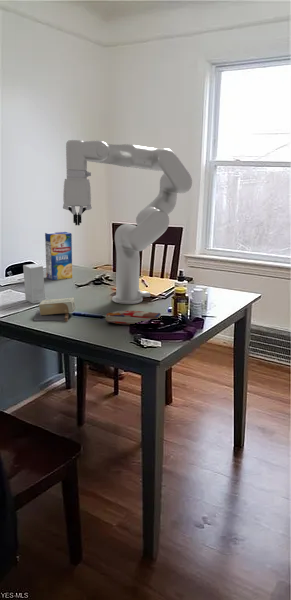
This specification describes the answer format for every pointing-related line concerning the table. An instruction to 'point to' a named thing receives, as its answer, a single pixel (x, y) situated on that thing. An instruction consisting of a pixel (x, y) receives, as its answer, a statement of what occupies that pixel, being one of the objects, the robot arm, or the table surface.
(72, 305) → the skincare box
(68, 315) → the stop strip
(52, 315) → the mat
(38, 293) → the skincare box
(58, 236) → the beverage box
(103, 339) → the table surface
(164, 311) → the table surface
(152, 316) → the pencil case
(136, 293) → the robot arm
